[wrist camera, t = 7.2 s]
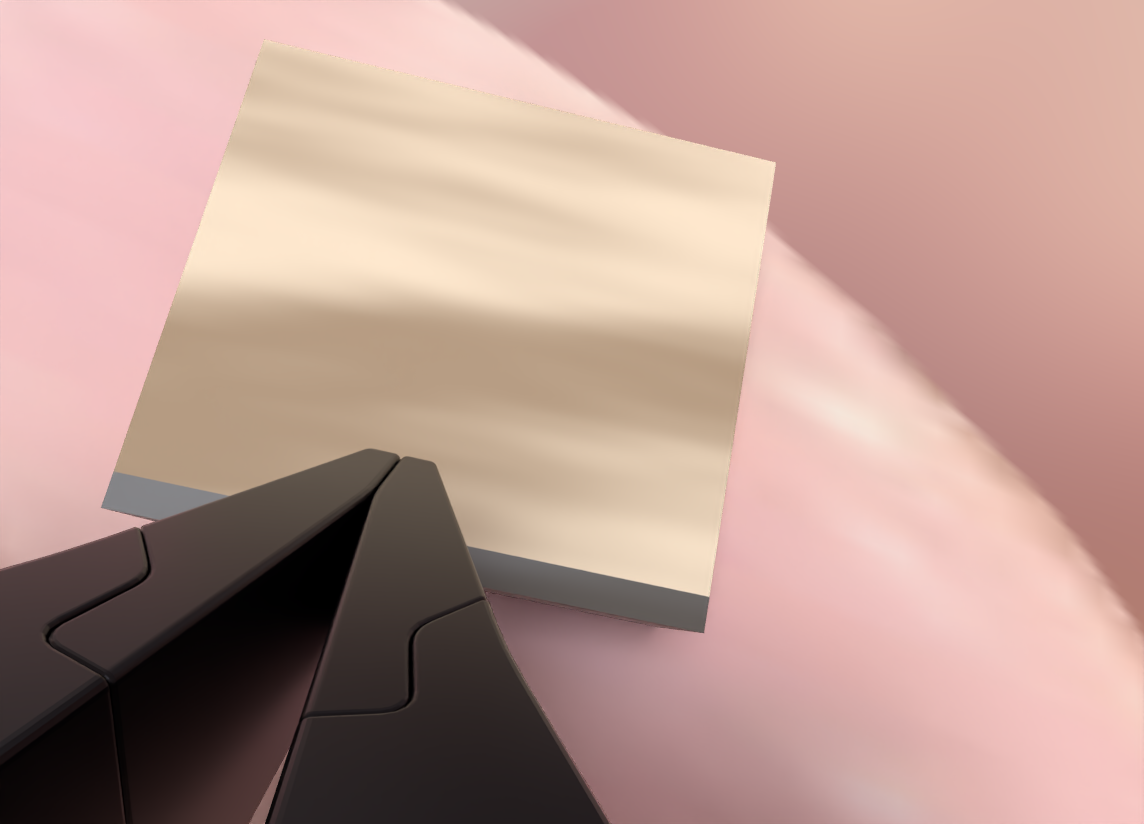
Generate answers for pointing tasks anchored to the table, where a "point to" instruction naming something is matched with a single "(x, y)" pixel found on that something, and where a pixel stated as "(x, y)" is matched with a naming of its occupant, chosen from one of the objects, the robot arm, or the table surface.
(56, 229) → the table surface
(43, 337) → the table surface
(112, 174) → the table surface
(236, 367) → the marked block
